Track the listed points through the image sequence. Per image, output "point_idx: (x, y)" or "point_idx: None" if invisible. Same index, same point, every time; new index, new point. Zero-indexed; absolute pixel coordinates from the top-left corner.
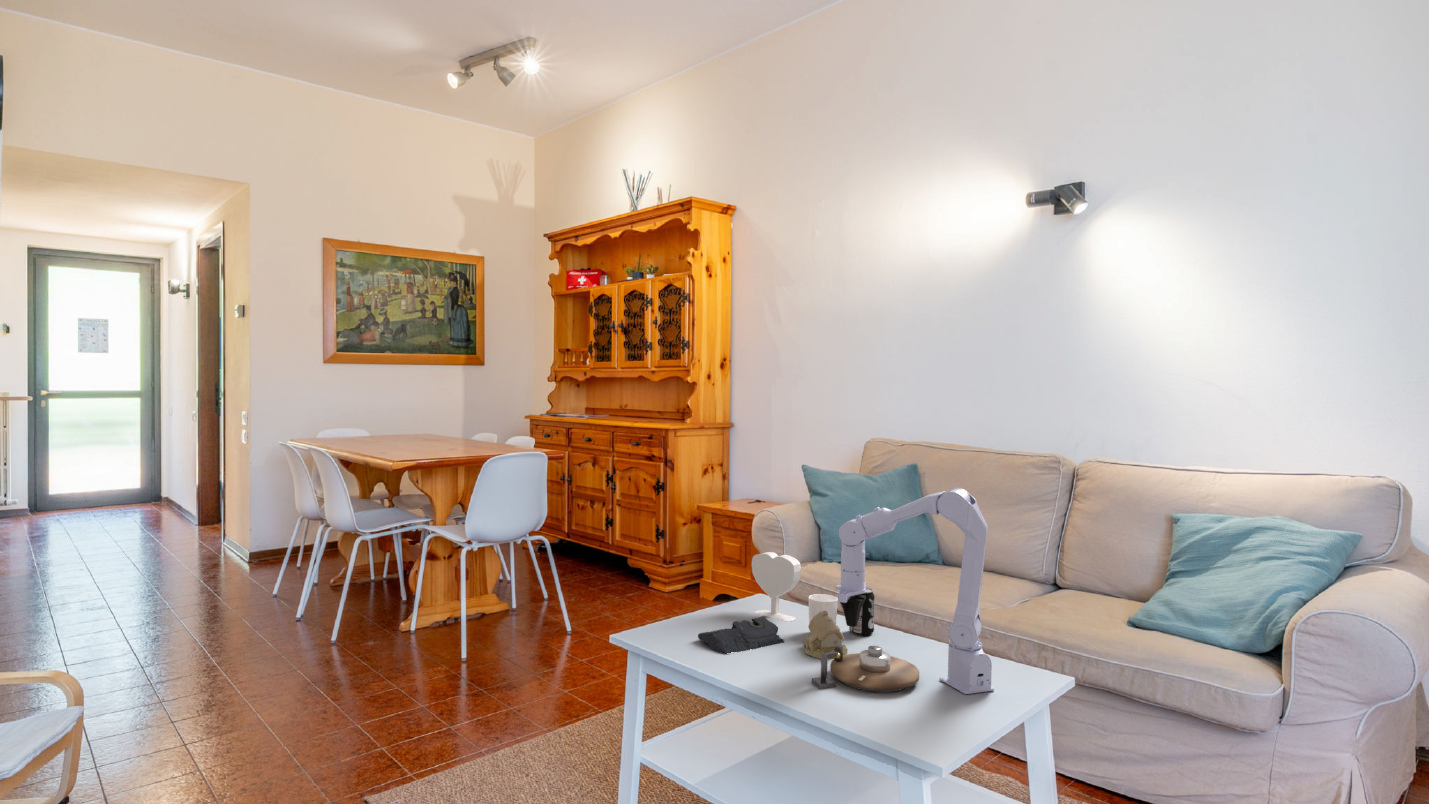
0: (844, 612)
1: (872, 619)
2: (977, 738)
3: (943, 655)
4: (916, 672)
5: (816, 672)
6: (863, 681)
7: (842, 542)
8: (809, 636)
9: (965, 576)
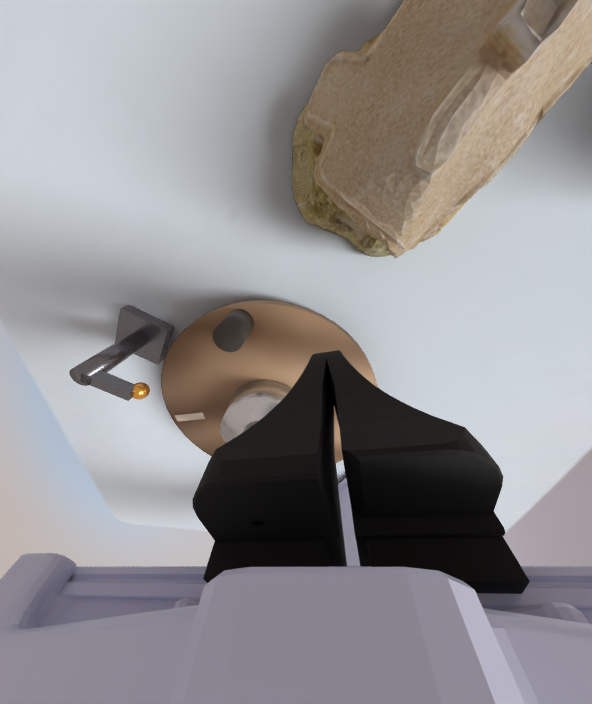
0: (290, 392)
1: None
2: (201, 528)
3: (527, 435)
4: None
5: (190, 271)
6: (178, 424)
7: None
8: (338, 61)
9: None
